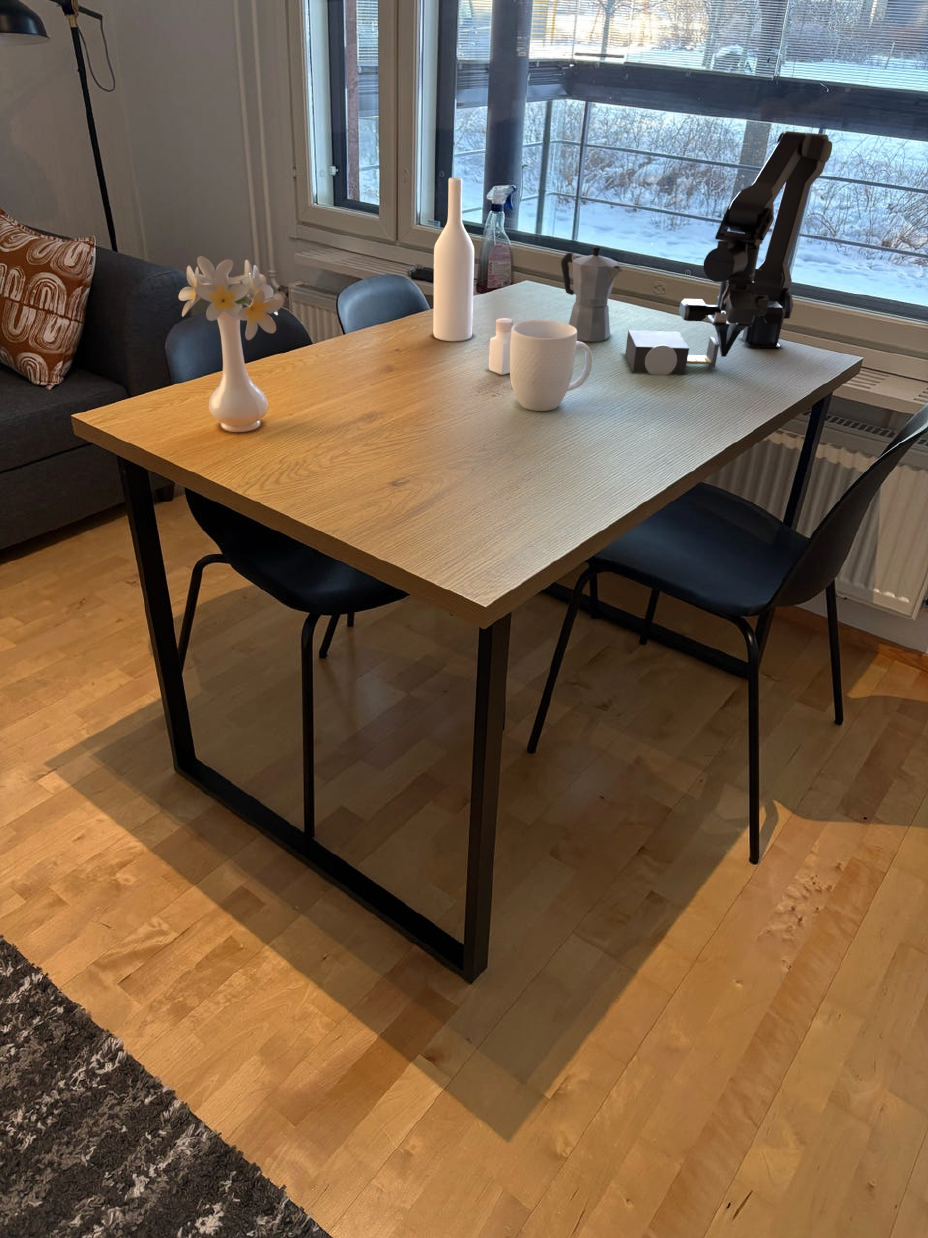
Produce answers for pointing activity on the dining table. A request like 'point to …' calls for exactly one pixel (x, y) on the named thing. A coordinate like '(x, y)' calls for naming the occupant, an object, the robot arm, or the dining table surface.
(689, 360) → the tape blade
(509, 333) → the pepper shaker
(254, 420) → the flower vase
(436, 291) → the bottle
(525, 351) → the mug
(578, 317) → the coffeepot
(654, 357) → the tape case
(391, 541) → the dining table surface
